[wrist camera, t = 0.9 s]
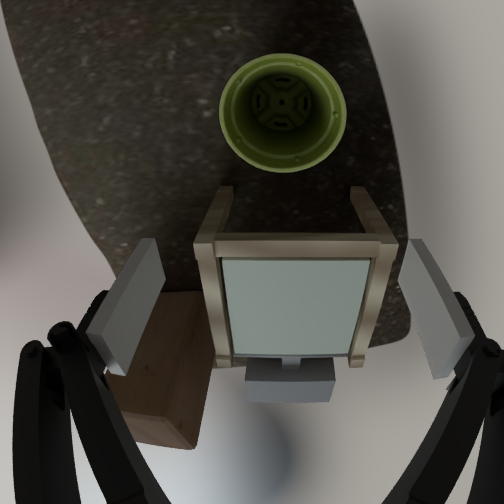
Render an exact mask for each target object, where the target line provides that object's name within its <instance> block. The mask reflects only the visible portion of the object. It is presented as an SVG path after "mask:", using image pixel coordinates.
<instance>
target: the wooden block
mask: <svg viewBox="0 0 504 504" xmlns="http://www.w3.org/2000/svg"><path fill="white" fill-rule="evenodd" d="M215 351H216V350H215V346H214V341H213V337H212V332H211V327H210V322H209V317H208V312H207V307H206V302H205V297H204V293H203V292H202V291H198V290H197V291H180V292H161V293H159V296H158V298H157V300H156V303H155V305H154V307H153V310H152V312H151V314H150V317H149V319H148V321H147V324H146V326H145V329H144V331H143V334H142V336H141V338H140V341H139V343H138V346H137V348H136V351H135V353H134V356H133V359H132V361H131V364H130V366H129V369H128V371H127V374H126V376H123V375H117V374H112V373H111V372H110V371H109V369H107V371H106V373H105V376H106V378H107V381H108V383H109V386H110V388H111V391H112V393H113V395H114V398H115V400H116V402H117V405H118V407H119V409H120V411H121V413H122V416H123V418H124V420H125V422H126V424H127V426H128V428H129V430H130V432H131V434H132V436H133V438H134V440H135V442H140V443H146V444H151V445H157V446H163V447H170V448H178V449H185V450H191V449H195V447H196V446H197V441H198V437H199V432H200V426H201V421H202V416H203V411H204V406H205V400H206V396H207V391H208V386H209V381H210V376H211V371H212V366H213V361H214V356H215Z"/></svg>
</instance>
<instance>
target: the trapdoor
mask: <svg viewBox="0 0 504 504" xmlns="http://www.w3.org/2000/svg"><path fill="white" fill-rule="evenodd" d="M222 264H223V272H224V280H225V288H226V295H227V302H228V310H229V317H230V324H231V331H232V338H233V345H234V352H233V356H234V357H247V366H246V375H245V386H246V393H247V401H248V402H273V403H274V402H275V403H277V402H278V403H308V402H329V400H330V397H331V394H332V391H333V388H334V384H335V381H336V380H335V371H334V362H333V357H348V356H349V347H350V344H351V340H352V336H353V333H354V329H355V325H356V321H357V317H358V313H359V309H360V305H361V301H362V296H363V292H364V288H365V283H366V278H367V274H368V269H369V264H370V259H369V257H223V258H222Z"/></svg>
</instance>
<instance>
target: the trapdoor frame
mask: <svg viewBox="0 0 504 504" xmlns="http://www.w3.org/2000/svg"><path fill="white" fill-rule="evenodd" d="M233 199H234V193H233V186H219V188H218V190H217V192H216V195H215V197H214V199H213V201H212V203H211V205H210V207H209V209H208V212H207V214H206V216H205V218H204V220H203V222H202V225H201V227H200V229H199V231H198V234H197V236H196V238H195V240H194V242H193V246H194V252H195V258H196V260H198V265H199V271H200V276H201V282H202V287H203V292H204V297H205V302H206V307H207V312H208V317H209V322H210V327H211V332H212V337H213V341H214V346H215V350H216V355H217V358H216V360H217V365H218V367H225V368H232V361H233V352H234V345H233V338H232V331H231V324H230V317H229V310H228V303H227V308H226V306H225V299H224V292H223V285H222V278H221V270H220V263H219V257H372V259H371V264H370V269H369V274H368V279H367V283H366V288H365V292H364V296H363V301H362V305H361V309H360V313H359V317H358V321H356V325H355V329H354V333H353V336H352V340H351V344H350V347H349V356H348V363H349V368H357V367H362V366H363V364H364V361H365V353H366V351H367V348H368V345H369V342H370V339H371V336H372V333H373V330H374V327H375V324H376V320H377V317H378V314H379V310H380V307H381V304H382V300H383V297H384V293H385V289H386V286H387V282H388V278H389V274H390V270H391V266H392V262H393V260H395V258H396V254H397V250H398V245H399V244H398V242H397V240H396V238H395V237H394V235H393V233H392V232H391V230H390V228H389V226H388V225H387V223H386V221H385V220H384V218H383V216H382V215H381V213H380V211H379V210H378V208H377V207H376V205H375V203H374V202H373V200H372V199H371V197H370V196H369V194H368V192H367V191H366V189H365V188H364V187H360V186H351V191H350V200H351V202H352V204H353V206H354V208H355V210H356V212H357V214H358V216H359V219H360V221H361V223H362V225H363V227H364V229H365V231H366V233H223V230H224V227H225V224H226V221H227V218H228V215H229V212H230V209H231V205H232V202H233Z"/></svg>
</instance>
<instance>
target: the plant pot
mask: <svg viewBox="0 0 504 504" xmlns="http://www.w3.org/2000/svg"><path fill="white" fill-rule="evenodd" d="M279 78H286V79H289V80H290V81H289V82H284V81H276V79H279ZM257 95H260V101H259V102H260V107H259V108H258V107H257V101H256V97H257ZM304 97H306V98H307V109H306V110H304V109H303V108H304ZM280 100H283V101H284V104H283V105H280ZM346 114H347V113H346V104H345V100H344V96H343V94H342V91H341V89H340V87H339V85H338V84H337V82H336V81H335V79H334V78H333V77H332V76H331V75H330V74H329V73H328V71H327V70H325V69H324V68H323V67H322V66H320V65H319V64H318V63H316V62H314V61H312V60H310V59H308V58H305V57H302V56H298V55H294V54H286V53H277V54H270V55H265V56H262V57H259V58H256V59H254V60H252V61H250V62H248V63H247V64H245V65H244V66H242V67H241V68H240V69H239V70H238V71H237V72H236V73H235V74H234V75H233V76H232V77H231V78H230V80H229V81H228V83H227V85H226V86H225V88H224V91H223V93H222V96H221V100H220V107H219V117H220V124H221V128H222V131H223V134H224V136H225V138H226V140H227V142H228V143H229V145H230V146H231V148H232V149H233V150H234V151H235V152H236V153H237V154H238V155H239V156H240V157H241V158H242V159H244V160H245V161H246V162H248V163H249V164H251V165H253V166H255V167H258V168H260V169H263V170H267V171H271V172H296V171H300V170H304V169H307V168H309V167H312V166H314V165H316V164H317V163H319V162H321V161H322V160H324V159H325V158H326V157H327V156H328V155H329V154H330V153H331V152H332V151H333V150H334V149H335V148H336V146H337V145H338V143H339V141H340V140H341V138H342V135H343V133H344V129H345V124H346ZM274 122H278V123H287V124H288V125H287V126H276V125H275V124H274Z"/></svg>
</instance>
